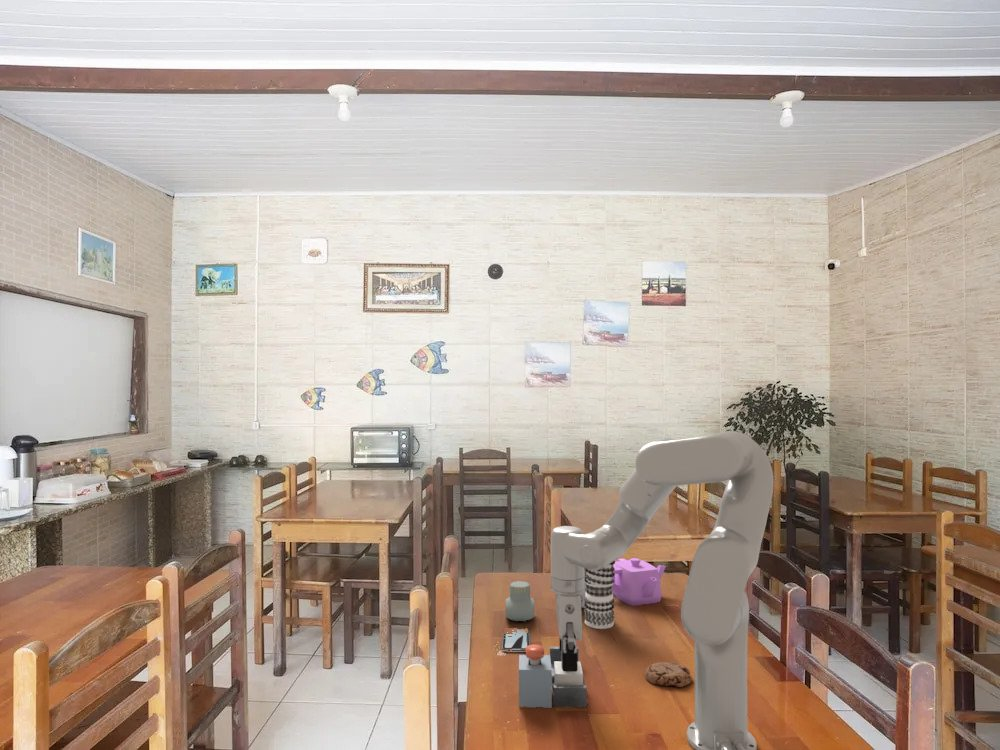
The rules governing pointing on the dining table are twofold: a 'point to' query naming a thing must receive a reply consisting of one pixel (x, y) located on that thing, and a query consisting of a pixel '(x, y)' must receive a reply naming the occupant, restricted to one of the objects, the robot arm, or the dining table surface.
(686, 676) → the cookie
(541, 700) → the button housing
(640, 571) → the teakettle
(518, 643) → the smartphone
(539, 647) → the button
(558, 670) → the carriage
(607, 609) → the decorative candle
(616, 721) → the dining table surface
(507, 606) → the air freshener
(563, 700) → the rail
